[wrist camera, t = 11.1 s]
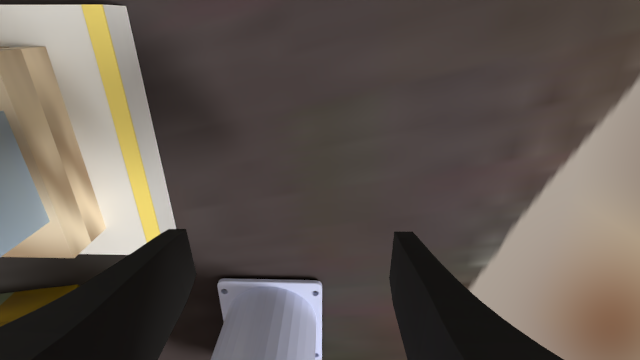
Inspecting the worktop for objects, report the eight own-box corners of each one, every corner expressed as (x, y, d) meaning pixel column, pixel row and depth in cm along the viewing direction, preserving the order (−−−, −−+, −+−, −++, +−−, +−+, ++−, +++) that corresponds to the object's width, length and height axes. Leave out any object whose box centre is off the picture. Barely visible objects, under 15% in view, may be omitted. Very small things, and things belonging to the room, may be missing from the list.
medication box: (-29, 320, 29) (-79, 363, 26) (-50, 298, 28) (-105, 340, 24) (97, 305, 28) (63, 348, 24) (81, 281, 27) (43, 323, 23)
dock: (178, 238, 24) (165, 256, 22) (17, 235, 25) (-9, 253, 23) (125, 5, 18) (101, 4, 16) (-92, 6, 18) (-141, 4, 16)
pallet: (106, 228, 22) (74, 258, 19) (31, 227, 22) (-12, 256, 19) (45, 46, 17) (-9, 51, 14) (-51, 46, 17) (-123, 51, 14)
